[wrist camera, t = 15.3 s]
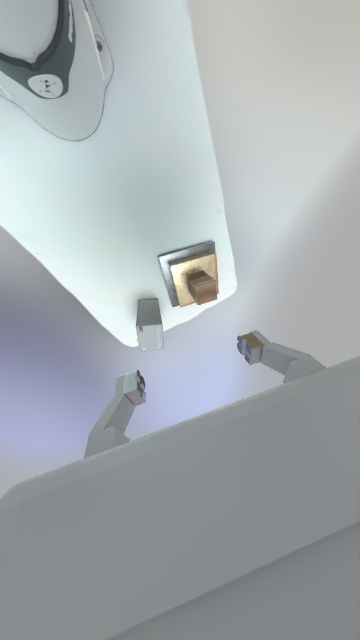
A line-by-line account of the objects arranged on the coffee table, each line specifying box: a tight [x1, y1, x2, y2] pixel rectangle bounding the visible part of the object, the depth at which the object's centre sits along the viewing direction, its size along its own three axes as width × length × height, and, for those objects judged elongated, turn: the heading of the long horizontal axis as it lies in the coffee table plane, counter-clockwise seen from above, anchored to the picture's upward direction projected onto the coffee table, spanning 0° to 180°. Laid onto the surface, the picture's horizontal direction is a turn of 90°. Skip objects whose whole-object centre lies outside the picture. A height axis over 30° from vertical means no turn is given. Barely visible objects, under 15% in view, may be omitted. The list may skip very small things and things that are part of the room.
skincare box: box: [136, 299, 164, 352], centre depth 44 cm, size 8×7×16 cm
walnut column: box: [186, 271, 217, 305], centre depth 39 cm, size 5×5×8 cm
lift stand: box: [158, 241, 219, 307], centre depth 45 cm, size 16×16×6 cm
